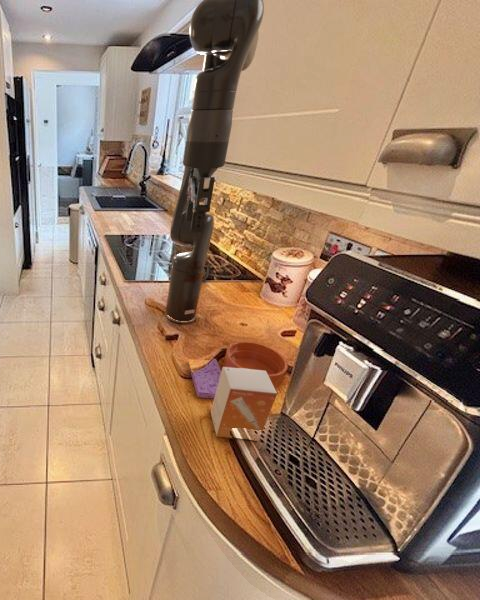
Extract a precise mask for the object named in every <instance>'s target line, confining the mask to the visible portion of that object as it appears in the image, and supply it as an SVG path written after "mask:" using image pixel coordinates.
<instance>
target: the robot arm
mask: <svg viewBox="0 0 480 600" xmlns="http://www.w3.org/2000/svg"><path fill="white" fill-rule="evenodd" d="M264 3H265V2H264V0H201V2H199V3H198V5H197V6H196V7H195V9H194V10H193V13H192V16H191V19H190V23H189V31H188V32H189V34H188V35H189V41H190V44H191V46H192V49H193V50H194V51H195V52H196V54H197V53H198V54H200V55H204V56H203V62H202V70H201V71H200V72H199V73H198V74H197V75H196V77H195V80H194V85H193V92H192V99H191V109H190V115H189V119H188V123H187V128H186V134H185V135H186V136H185V144H184V151H183V159H182V165H183V166H184V169H183V170H184V171H183V175H182V179H181V184H180V189H179V193H178V197H177V201H176V205H175V208H174V212H173V215H172V220H171V223H170V229H169V235H170V240H171V242H173V243H175V244H180V245H186V246H191V247H193V249H192V250H191V251H185V252H180V253H177V254H175V255H174V256H173V257H172V260H171V269H170V277H169V283H168V284H169V285H168V292H167V299H166V306H165V312H164V316H165V317H166V319H167V320H169V321H170V322H173V323H175V324H181V325H184V324H185V325H186V324H192V323H194V322H195V320H196V317H197V316H196V315H197V310H198V305H199V298H200V294H201V288H202V283H204V282H205V281H206V280H207V279H208V278H209V276H210V269H211V264H210V263H208V264H207V268H206V275H205V277H204V273H205V266H206V265H205V264H206V262H207V258H208V254H209V253H208V252H209V249H210V244H211V240H212V236H213V232H214V226H215V219H214V216H213V215H212V214H211V213H209V212H210V211H211V204H212V198H213V191H214V186H215V182H216V179H215V177H214V176H213V175H214V174H215V172H216V171H217V170H219V169H220V168H223V167H224V166H225V163H226V160H227V159H226V158H227V153H228V148H229V143H230V137H231V132H232V126H233V113H234V107H235V101H236V98H237V97H236V96H237V91H238V86H239V82H240V78H241V74H242V72H243V71H246V70H247V69H248V68H249V67H250V66H251V64H252V63H253V60H254V58H255V55H256V51H257V48H258V47H257V46H258V43H259V42H258V41H259V34H260V33H259V30H260V28H261V25H262V22H263V17H264V14H265V13H264V12H265V4H264ZM200 203H203V204H200ZM203 277H204V278H203ZM167 315H169V316H170V317H172V318H173V319H175V320H173V319H171V318H169V317H168V316H167ZM176 320H178V321H176ZM190 320H191V321H190ZM181 321H187V322H181Z"/></svg>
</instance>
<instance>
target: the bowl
mask: <svg viewBox="0 0 480 600" xmlns="http://www.w3.org/2000/svg"><path fill="white" fill-rule="evenodd" d="M288 365H289V364H288V361H287V360H286V358H285V356H284V355H282V353H280V352H279V351H278V350H275V349H274V348H273V347H270V346H268V345H266V344H263V343H259V342H255V341H247V340H242V341H235V342H233V343H232V342H231V343H230V344H229V345H228V346H227V348H226V351H225V355H224V359H223V363H222V368H223V367H231V368H246V369H253V370H263V371H266V372H267V374H268V376H269V378H270V380H271V382H272V384H273V386H274V388H275V390H276V389H278V388H280V387H281V386H282V384H283V383H284V379H285V377H286V374H287V371H288V368H289V367H288Z"/></svg>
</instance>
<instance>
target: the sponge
mask: <svg viewBox="0 0 480 600" xmlns="http://www.w3.org/2000/svg"><path fill="white" fill-rule="evenodd" d="M212 359H213V360H212V361H211V362H210V363H209V364H207V365H206V366H205V367H204V368H202V369H200V370H197V371H193V374H192V371H190V370H189V372H190V376H191V379H192V382H193V385H194V389H195V394H196V396H197V397H198V398H204V399H205V398H206V399H214V398H215V394H216V390H217V387H218V383H219V379H220V375H221V371H222V369H221V368H220V366H219V363H218V360H217V358H212Z"/></svg>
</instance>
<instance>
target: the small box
mask: <svg viewBox="0 0 480 600" xmlns="http://www.w3.org/2000/svg"><path fill="white" fill-rule="evenodd" d="M277 396H278V392H277V390H276V389H275V388H274V386H273V384H272V382H271V380H270V378H269V376H268V374H267V372H266V371H263V370H253V369H246V368H231V367H223V366H222V368H221V375H220V379H219V383H218V387H217V390H216V394H215V398H213V403H212V406H211V411H210V416H211V420H212V421H211V422H212V424H213V428H214V433H215V436H216V437H217V438H228V439H233V438H232V436H231V435H230V431H231V429H232V428H247V429H254V430H263V431H264V429H265V427H266V423H267V421H268V418H269V416H270V414H271V410H272V408H273V405H274V403H275V400H276V398H277Z"/></svg>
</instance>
